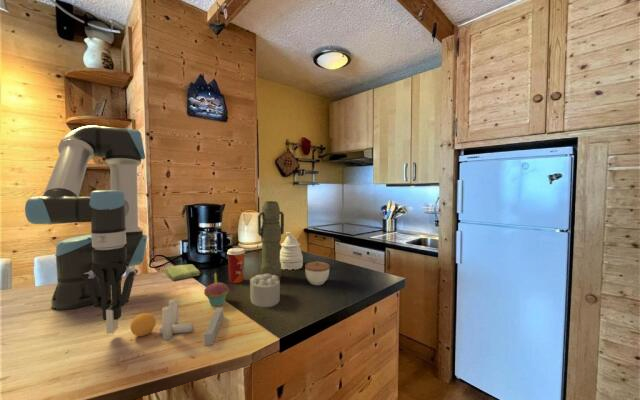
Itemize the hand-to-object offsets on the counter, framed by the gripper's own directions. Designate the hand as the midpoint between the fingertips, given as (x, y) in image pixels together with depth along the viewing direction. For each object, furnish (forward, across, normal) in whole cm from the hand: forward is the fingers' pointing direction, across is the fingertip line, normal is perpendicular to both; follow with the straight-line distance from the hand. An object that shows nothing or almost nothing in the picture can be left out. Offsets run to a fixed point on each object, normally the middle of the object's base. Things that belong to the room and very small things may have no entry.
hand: (112, 330), depth 77 cm
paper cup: (+2, +28, +41) cm, 50 cm away
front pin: (+1, +12, 0) cm, 12 cm away
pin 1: (+2, +15, -2) cm, 15 cm away
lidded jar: (+2, +63, +34) cm, 72 cm away
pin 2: (+2, +15, +2) cm, 15 cm away
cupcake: (+2, +24, +19) cm, 31 cm away
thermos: (+2, +43, +42) cm, 60 cm away
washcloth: (+3, +1, +55) cm, 55 cm away
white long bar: (+2, +27, 0) cm, 27 cm away
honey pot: (+2, +53, +60) cm, 80 cm away
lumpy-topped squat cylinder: (+2, +41, +19) cm, 46 cm away
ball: (-1, +8, 0) cm, 8 cm away
